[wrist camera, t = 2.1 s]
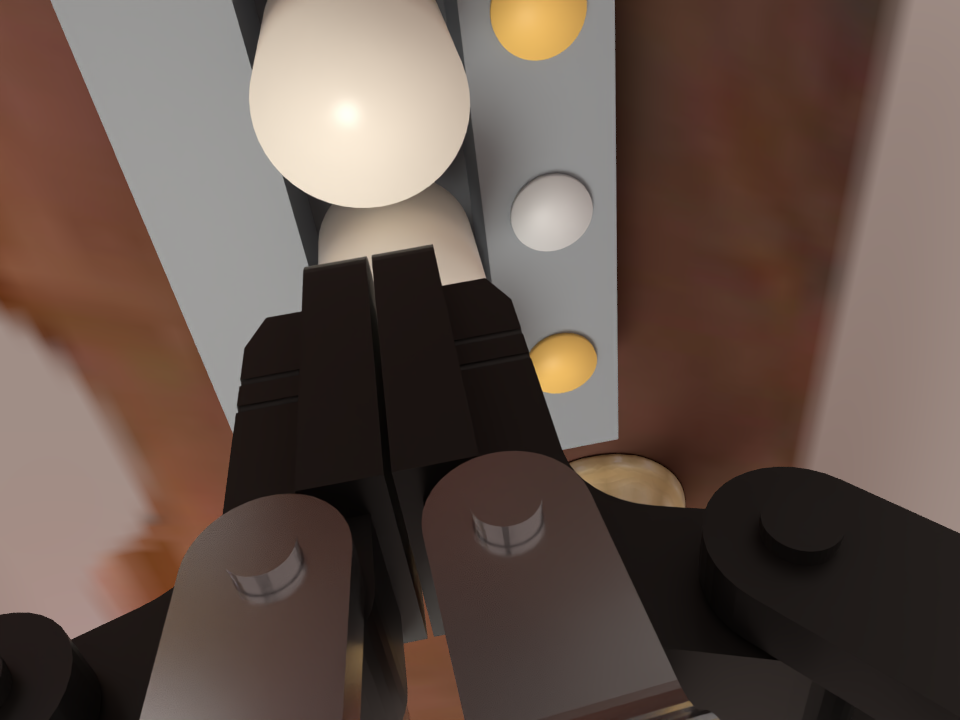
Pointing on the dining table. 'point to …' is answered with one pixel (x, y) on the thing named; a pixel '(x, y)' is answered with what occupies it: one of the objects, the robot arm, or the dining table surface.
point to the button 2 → (358, 97)
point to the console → (298, 216)
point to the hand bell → (631, 479)
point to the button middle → (405, 233)
